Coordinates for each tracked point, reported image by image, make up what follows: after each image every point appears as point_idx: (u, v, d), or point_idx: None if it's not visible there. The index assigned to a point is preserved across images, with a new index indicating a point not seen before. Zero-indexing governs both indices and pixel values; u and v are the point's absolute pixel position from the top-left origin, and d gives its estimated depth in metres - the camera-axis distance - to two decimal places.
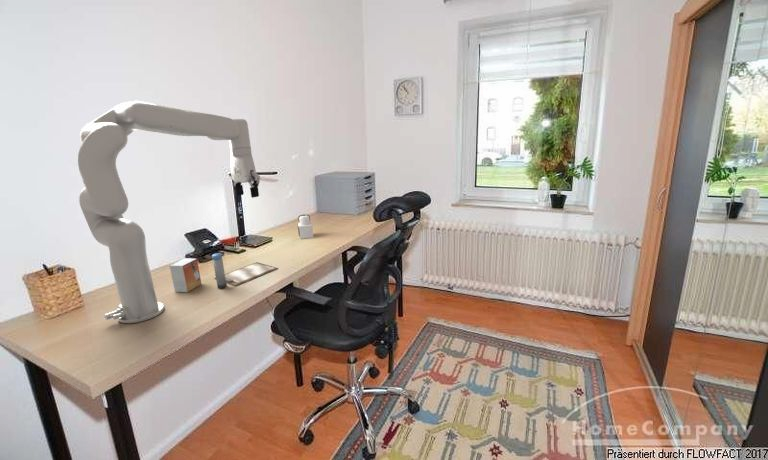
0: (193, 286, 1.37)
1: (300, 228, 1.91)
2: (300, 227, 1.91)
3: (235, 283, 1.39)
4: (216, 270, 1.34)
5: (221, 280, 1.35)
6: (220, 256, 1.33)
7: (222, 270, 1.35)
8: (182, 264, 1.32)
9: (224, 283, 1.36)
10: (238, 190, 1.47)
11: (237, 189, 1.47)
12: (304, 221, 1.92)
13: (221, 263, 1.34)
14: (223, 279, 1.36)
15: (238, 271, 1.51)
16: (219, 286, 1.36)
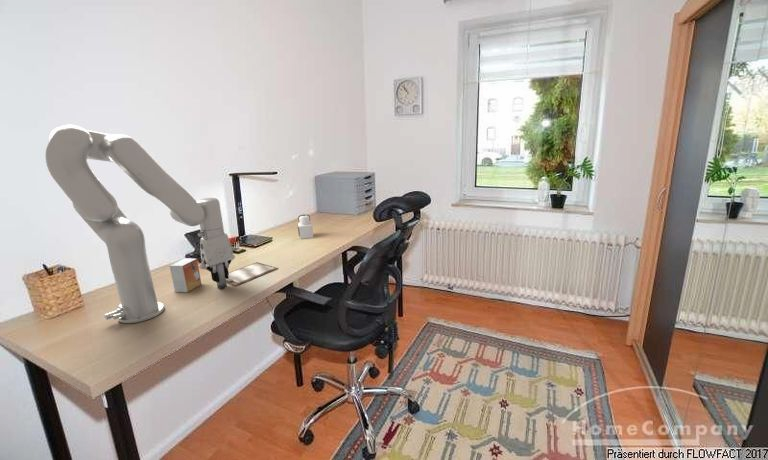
0: (193, 286, 1.37)
1: (300, 228, 1.91)
2: (300, 227, 1.91)
3: (235, 283, 1.39)
4: (216, 270, 1.34)
5: (221, 280, 1.35)
6: None
7: (222, 270, 1.35)
8: (182, 264, 1.32)
9: (224, 283, 1.36)
10: None
11: None
12: (304, 221, 1.92)
13: (221, 263, 1.34)
14: (223, 279, 1.36)
15: (238, 271, 1.51)
16: (219, 286, 1.36)
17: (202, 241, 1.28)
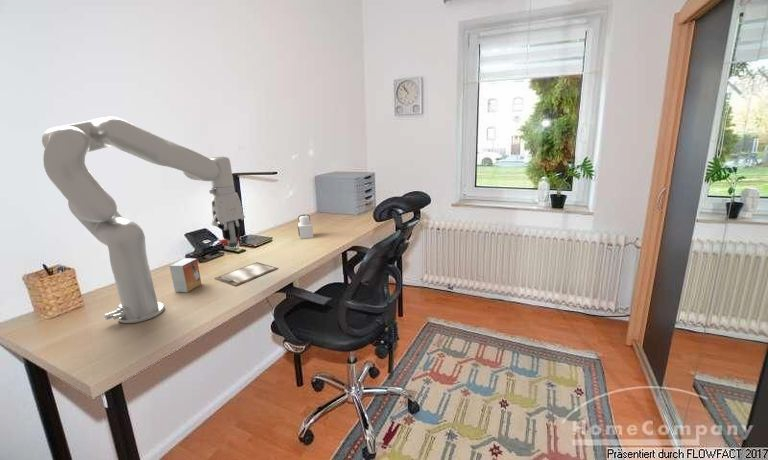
0: (193, 286, 1.37)
1: (300, 228, 1.91)
2: (300, 227, 1.91)
3: (235, 283, 1.39)
4: (227, 228, 1.38)
5: (232, 238, 1.39)
6: None
7: (233, 228, 1.38)
8: (182, 264, 1.32)
9: (235, 241, 1.40)
10: None
11: None
12: (304, 221, 1.92)
13: (232, 221, 1.38)
14: (234, 237, 1.39)
15: (238, 271, 1.51)
16: (230, 244, 1.39)
17: (214, 198, 1.32)
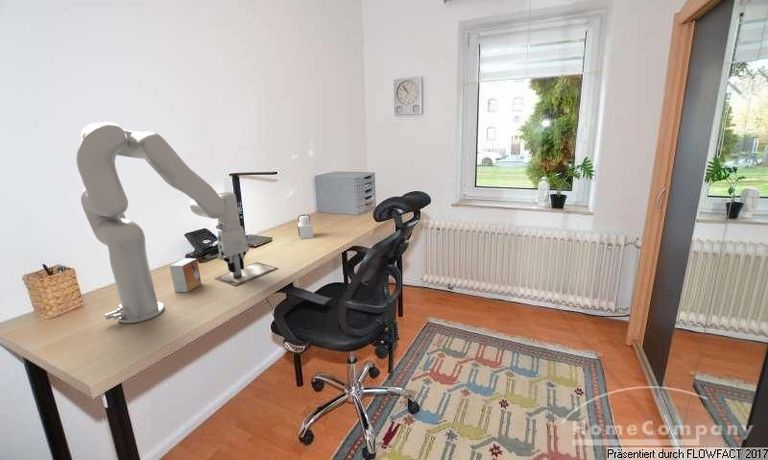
0: (193, 286, 1.37)
1: (300, 228, 1.91)
2: (300, 227, 1.91)
3: (235, 283, 1.39)
4: None
5: (237, 270, 1.42)
6: None
7: (238, 261, 1.42)
8: (182, 264, 1.32)
9: (240, 273, 1.43)
10: None
11: None
12: (304, 221, 1.92)
13: (237, 254, 1.41)
14: (239, 270, 1.43)
15: None
16: (235, 276, 1.43)
17: (220, 233, 1.36)
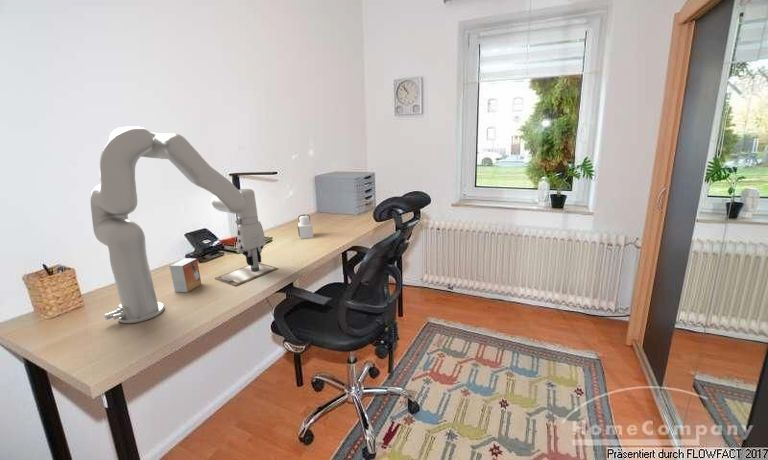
0: (193, 286, 1.37)
1: (300, 228, 1.91)
2: (300, 227, 1.91)
3: (235, 283, 1.39)
4: None
5: (255, 263, 1.49)
6: None
7: (256, 254, 1.49)
8: (182, 264, 1.32)
9: (257, 266, 1.50)
10: None
11: None
12: (304, 221, 1.92)
13: (255, 248, 1.48)
14: (256, 262, 1.49)
15: (238, 271, 1.51)
16: (253, 269, 1.49)
17: (239, 228, 1.42)
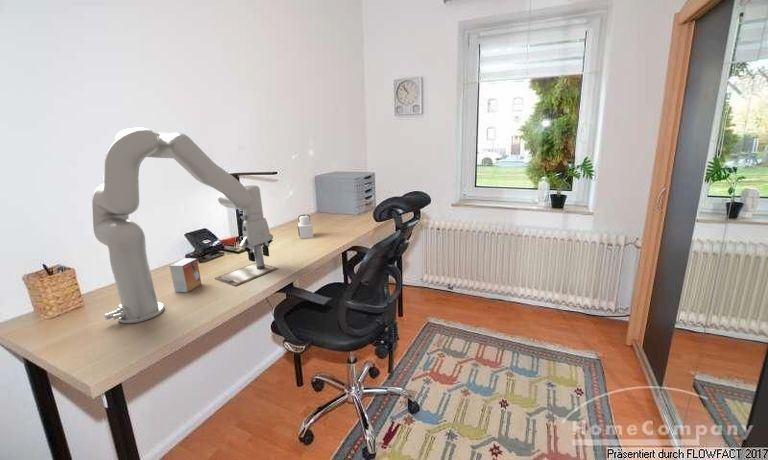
0: (193, 286, 1.37)
1: (300, 228, 1.91)
2: (300, 227, 1.91)
3: (235, 283, 1.39)
4: (256, 253, 1.50)
5: (260, 261, 1.51)
6: None
7: (261, 253, 1.51)
8: (182, 264, 1.32)
9: (263, 264, 1.52)
10: None
11: None
12: (304, 221, 1.92)
13: (260, 246, 1.50)
14: (262, 261, 1.51)
15: (238, 271, 1.51)
16: (258, 267, 1.51)
17: (245, 224, 1.44)
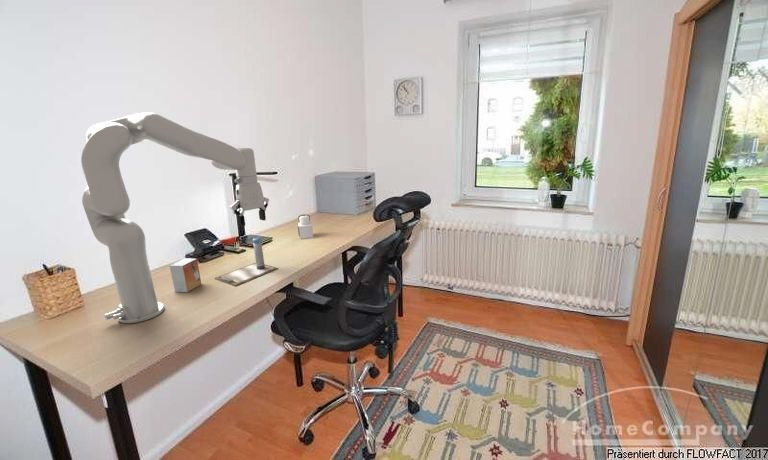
0: (193, 286, 1.37)
1: (300, 228, 1.91)
2: (300, 227, 1.91)
3: (235, 283, 1.39)
4: (256, 252, 1.50)
5: (260, 261, 1.51)
6: (260, 240, 1.49)
7: (261, 253, 1.51)
8: (182, 264, 1.32)
9: (263, 264, 1.52)
10: None
11: None
12: (304, 221, 1.92)
13: (261, 246, 1.50)
14: (262, 261, 1.52)
15: (238, 271, 1.51)
16: (258, 267, 1.51)
17: (238, 187, 1.40)
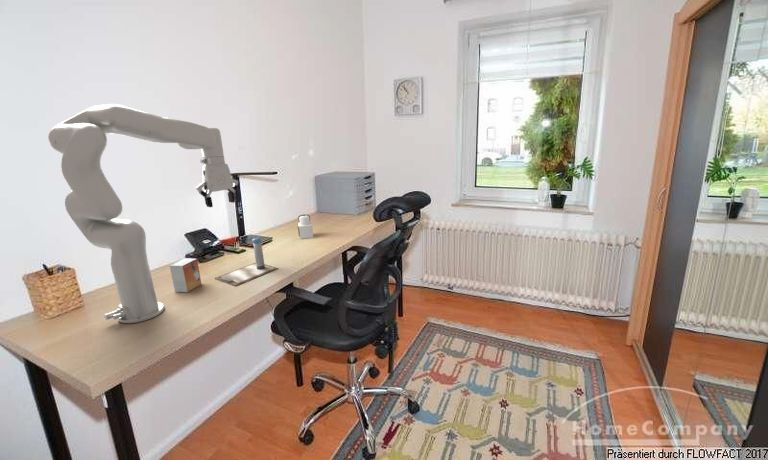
0: (193, 286, 1.37)
1: (300, 228, 1.91)
2: (300, 227, 1.91)
3: (235, 283, 1.39)
4: (256, 252, 1.50)
5: (260, 261, 1.51)
6: (260, 240, 1.49)
7: (261, 253, 1.51)
8: (182, 264, 1.32)
9: (263, 264, 1.52)
10: None
11: None
12: (304, 221, 1.92)
13: (260, 246, 1.50)
14: (262, 261, 1.51)
15: (238, 271, 1.51)
16: (258, 267, 1.51)
17: (204, 167, 1.38)
